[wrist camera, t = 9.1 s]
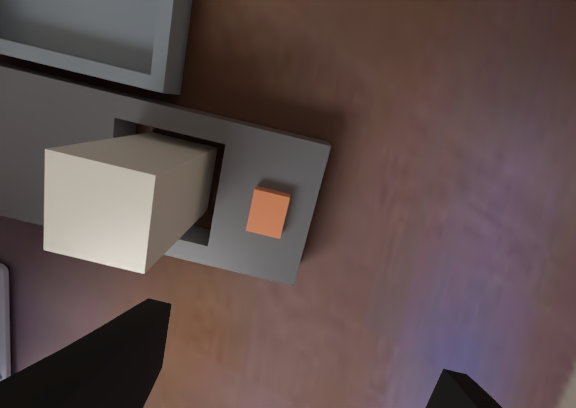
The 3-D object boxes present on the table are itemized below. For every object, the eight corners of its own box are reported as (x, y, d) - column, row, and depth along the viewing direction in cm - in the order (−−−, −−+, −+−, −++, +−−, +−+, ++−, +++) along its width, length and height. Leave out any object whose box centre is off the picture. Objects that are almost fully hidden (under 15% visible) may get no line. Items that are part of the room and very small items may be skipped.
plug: (207, 210, 18) (144, 274, 11) (145, 195, 18) (43, 249, 11) (217, 147, 17) (155, 175, 10) (151, 131, 17) (45, 148, 10)
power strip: (295, 266, 18) (293, 292, 16) (-150, 160, 18) (-224, 168, 15) (328, 141, 16) (332, 147, 14) (-173, 20, 16) (-262, 4, 13)
